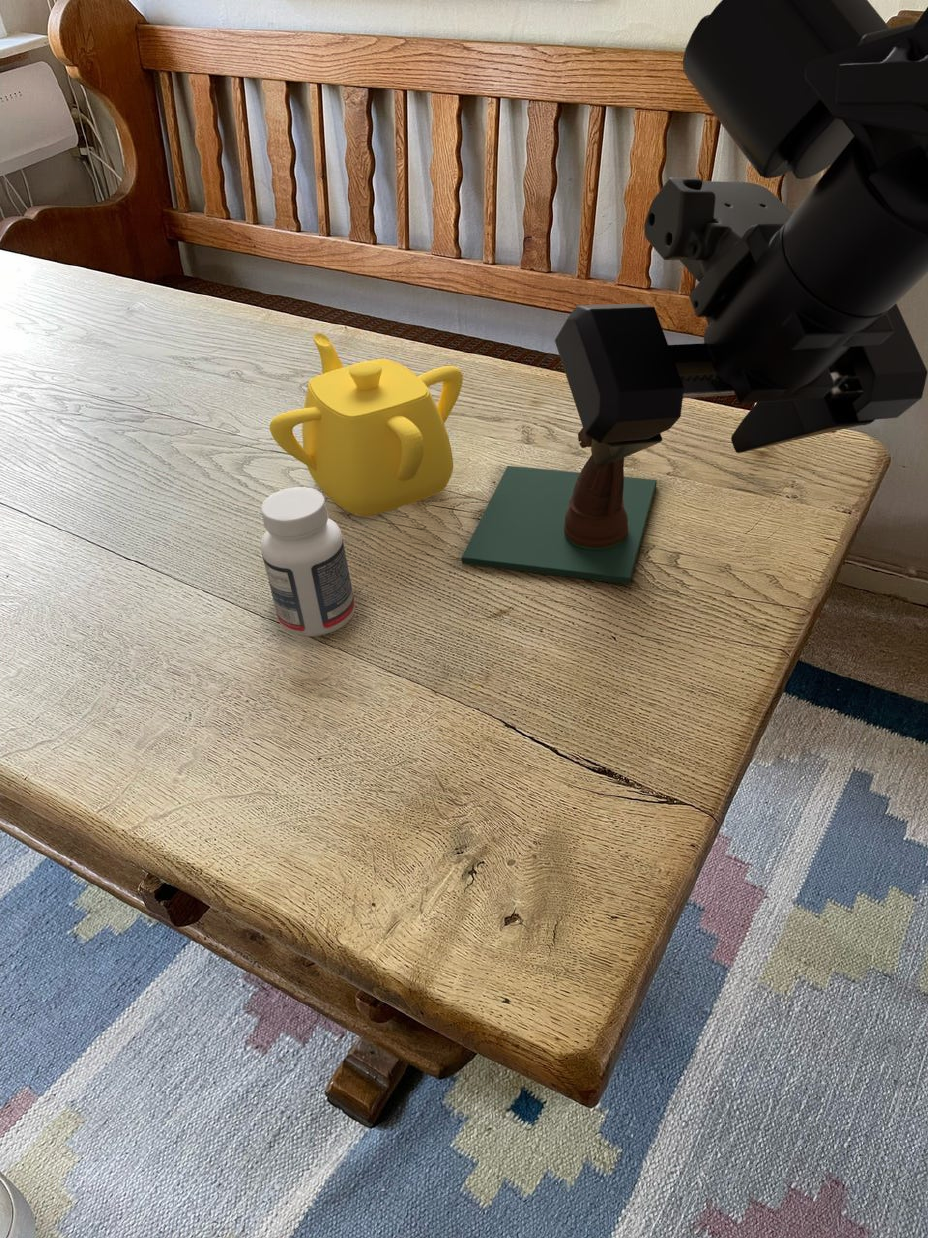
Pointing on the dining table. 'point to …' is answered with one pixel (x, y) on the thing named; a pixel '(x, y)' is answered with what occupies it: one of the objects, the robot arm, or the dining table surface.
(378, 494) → the teapot
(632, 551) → the play mat
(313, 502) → the pill bottle
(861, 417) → the robot arm
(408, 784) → the dining table surface
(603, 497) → the chess piece
